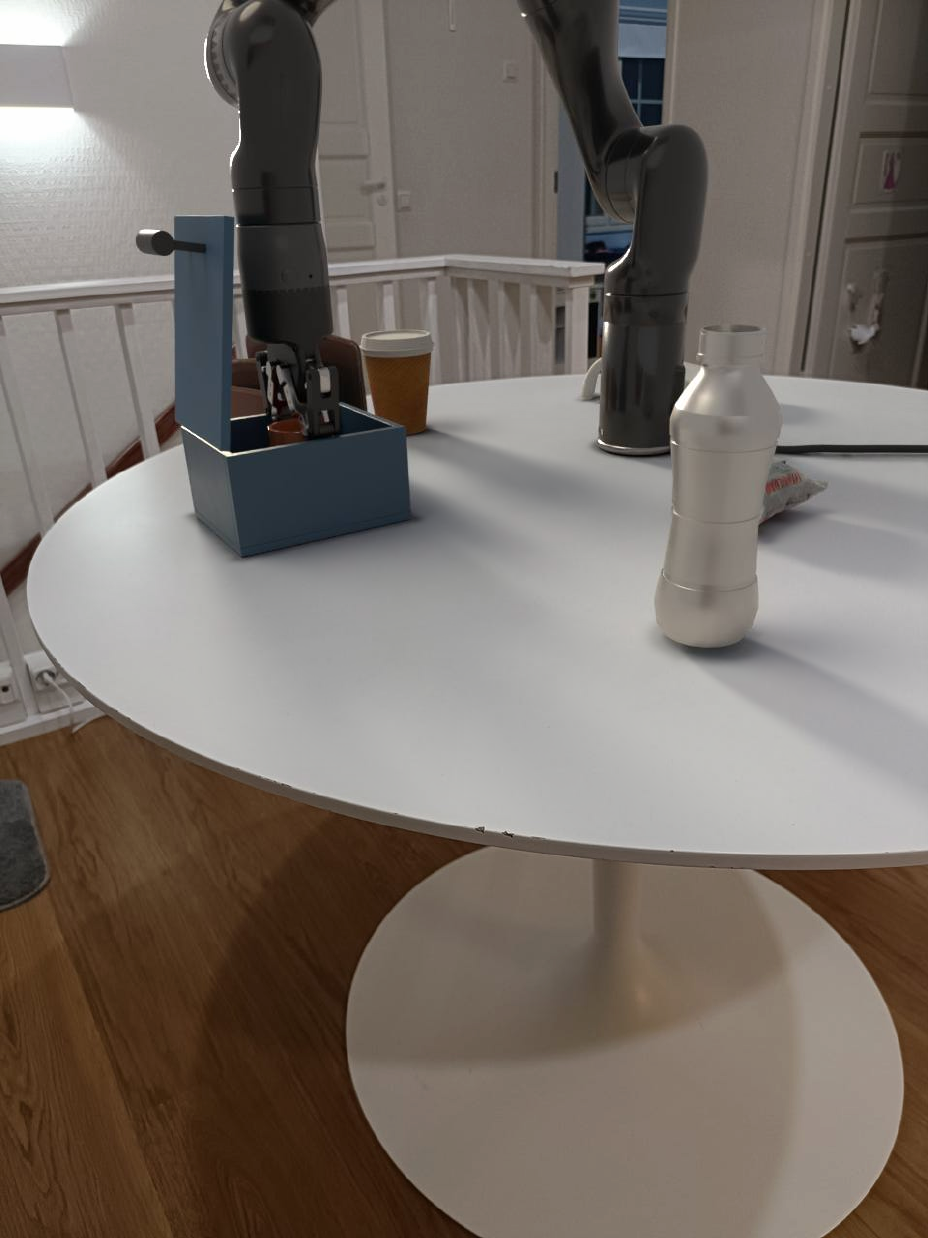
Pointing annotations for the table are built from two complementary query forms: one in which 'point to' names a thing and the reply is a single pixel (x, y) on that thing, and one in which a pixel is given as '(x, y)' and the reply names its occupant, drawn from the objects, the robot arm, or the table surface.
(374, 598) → the table surface
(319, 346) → the letter holder
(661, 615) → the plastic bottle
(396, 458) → the dark blue rectangular box
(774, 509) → the packaged food
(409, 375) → the disposable coffee cup
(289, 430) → the cup
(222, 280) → the lid
